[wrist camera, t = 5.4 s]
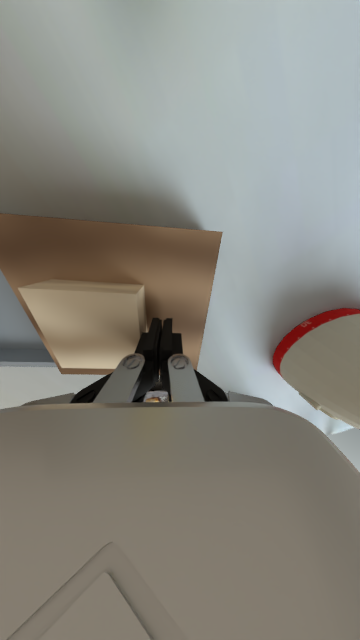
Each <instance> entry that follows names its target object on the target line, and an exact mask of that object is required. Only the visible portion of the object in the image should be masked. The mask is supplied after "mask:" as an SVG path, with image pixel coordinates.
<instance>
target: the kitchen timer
mask: <svg viewBox="0 0 360 640" xmlns="http://www.w3.org/2000/svg"><path fill="white" fill-rule="evenodd" d="M273 365H274V367H275V369H276V371H277V372H278V373H279V374H280V375H281V377H282V378H283V379H284V380H285V381H286V382H287V383H288V384H289V385H291V386H292V387H293V388H294V389H295V390H297V391H298V392H299V395H301V396H302V397H303V398H304V399H305V400H306V401H307V402H308V403H309V404H311V405H312V406H313V407H314V408H315V409H316V410H321V411H322V412H324V413H325V414H327V415H328V416H330V417H331V418H334V419H340V420H342V421H344V422H345V423H347V424H349V425H351V426H353V427H355V428H357V429H360V310H358V309H348V308H342V309H336V310H331V311H327V312H324V313H322V314H319V315H317V316H314V317H312V318H310V319H308V320H306V321H305V322H303V323H301V324H300V325H298V326H297V327H295V328H294V329H293V330H292V331H291V332H290V333H288V334H287V335H286V336H285V337H284V338H283V340H282V341H281V342H280V344H279V345H278V346H277V348H276V350H275V353H274V355H273Z"/></svg>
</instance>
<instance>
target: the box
mask: <svg viewBox="0 0 360 640" xmlns="http://www.w3.org/2000/svg"><path fill="white" fill-rule="evenodd" d="M0 366H16V367H57V365H56V364H55V362H54V360H53V359H52V357H51V355H50V353H49V352H48V350H47V348H46V347H45V345H44V343H43V341H42V340H41V338H40V336H39V335H38V333H37V331H36V329H35V328H34V326H33V324H32V323H31V321H30V319H29V317H28V316H27V314H26V312H25V311H24V309H23V307H22V305H21V304H20V302H19V300H18V299H17V297H16V295H15V293H14V292H13V290H12V288H11V287H10V285H9V283H8V281H7V280H6V278H5V276H4V275H3V273H2V271H1V269H0Z"/></svg>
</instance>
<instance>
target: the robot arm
mask: <svg viewBox="0 0 360 640" xmlns="http://www.w3.org/2000/svg"><path fill="white" fill-rule="evenodd" d="M172 322H173V318H166V320H164V321H163V328H162V320H160V318H153V319H152V322H151V325H150V328H149V331H148V332H143V333H142V334H141V337H140V339H139V342H138V345H137V347H136V350H135V353H133V354H129V355H127V356H125V357H124V358H123V359H122V360H121V361H120V363H119V364H118V366H117V367H116V369H115V370H114V371H113V372H112V373H110V374H108V375H107V376H105V377H103V378H101V379H100V380H98V381H96V382H94V383H93V384H91V385H89V386H88V387H86V388H84V389H82V390H81V391H80V392H78V393H77V394H74V393H69V394H65V395H60V396H55V397H50V398H45V399H40V400H36V401H31V402H28V403H25V404H23V405H22V406H18V407H12V408H5V409H0V640H360V472H359V471H358V470H357V469H356V468H355V467H354V466H353V464H352V463H351V462H350V461H349V460H348V459H347V458H346V456H345V455H344V454H343V453H342V452H341V451H340V450H339V449H338V448H337V447H336V445H335V444H334V443H333V442H332V441H331V440H330V439H329V438H328V437H327V436H326V435H325V434H324V433H323V432H322V431H321V430H319V429H318V428H317V427H316V426H315V425H313V424H312V423H310V422H309V421H307V420H306V419H304V418H302V417H300V416H298V415H296V414H294V413H292V412H289V411H287V410H284V409H281V408H278V407H275V406H273V405H272V404H271V403H269V402H268V401H266V400H264V399H262V398H257V397H253V396H248V395H243V394H239V393H234V392H230V391H229V392H228V393H226V392H224V391H223V390H222V389H221V388H219V387H218V386H217V385H215V384H214V383H213V382H211V381H210V380H208V379H207V378H206V377H204V376H203V375H202V374H200V373H199V372H197V371H196V370H195V369H193V366H192V363H191V361H190V359H189V358H188V357H187V356H186V355H184V354H183V347H182V335H181V333H172ZM159 371H160V382H162V387H163V388H164V389H165V390H166V391H167V392H168V402H146V399H147V396H148V391H149V390H150V389H151V388H152V387H155V382H158V379H159Z"/></svg>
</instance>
